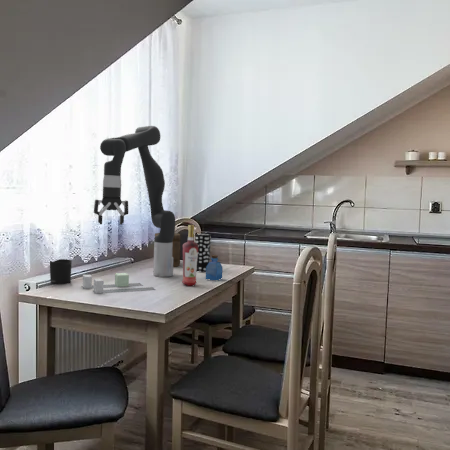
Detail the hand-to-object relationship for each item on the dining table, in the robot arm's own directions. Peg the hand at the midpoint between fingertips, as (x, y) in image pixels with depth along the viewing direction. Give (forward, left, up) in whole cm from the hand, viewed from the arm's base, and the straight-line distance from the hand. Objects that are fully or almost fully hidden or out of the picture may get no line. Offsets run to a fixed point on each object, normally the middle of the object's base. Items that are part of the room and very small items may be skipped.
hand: (110, 224), depth 206 cm
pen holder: (+18, -21, -29) cm, 40 cm away
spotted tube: (-57, -34, -29) cm, 72 cm away
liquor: (-37, -1, -29) cm, 47 cm away
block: (-6, -4, -28) cm, 28 cm away
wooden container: (-44, -55, -29) cm, 76 cm away
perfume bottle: (-54, -11, -29) cm, 62 cm away
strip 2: (-5, +6, -28) cm, 30 cm away
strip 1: (-2, -4, -28) cm, 29 cm away
